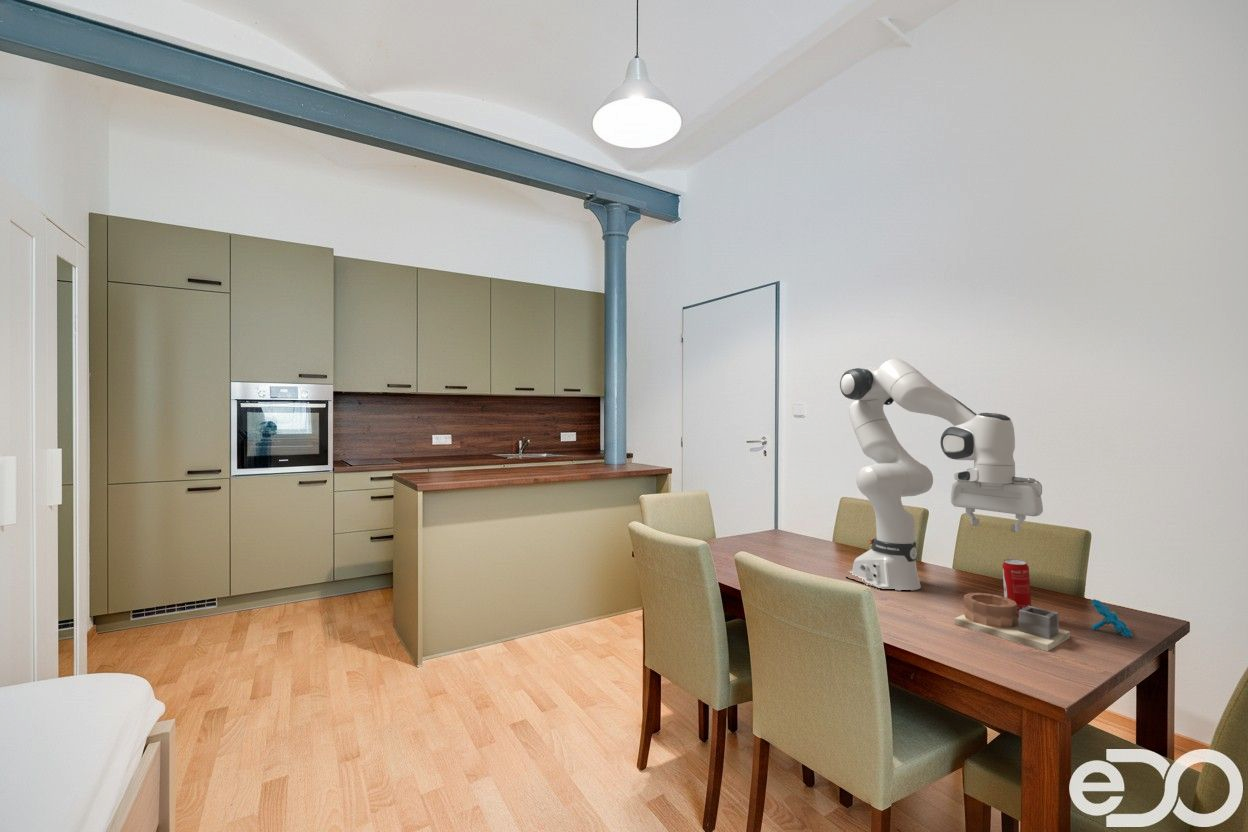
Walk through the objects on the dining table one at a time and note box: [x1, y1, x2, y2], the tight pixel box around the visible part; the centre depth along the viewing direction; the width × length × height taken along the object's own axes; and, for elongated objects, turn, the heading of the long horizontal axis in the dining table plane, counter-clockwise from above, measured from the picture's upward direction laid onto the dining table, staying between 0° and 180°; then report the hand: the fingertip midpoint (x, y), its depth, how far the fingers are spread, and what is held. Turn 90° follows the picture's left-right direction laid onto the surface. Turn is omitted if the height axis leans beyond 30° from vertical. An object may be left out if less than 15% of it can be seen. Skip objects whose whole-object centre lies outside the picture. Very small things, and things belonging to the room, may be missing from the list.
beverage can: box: [1002, 558, 1032, 618], centre depth 145 cm, size 6×6×15 cm
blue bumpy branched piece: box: [1091, 598, 1134, 638], centre depth 135 cm, size 11×6×10 cm
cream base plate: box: [953, 592, 1071, 652], centre depth 135 cm, size 20×14×6 cm
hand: (994, 528), depth 141 cm, fingers open, 8 cm apart
